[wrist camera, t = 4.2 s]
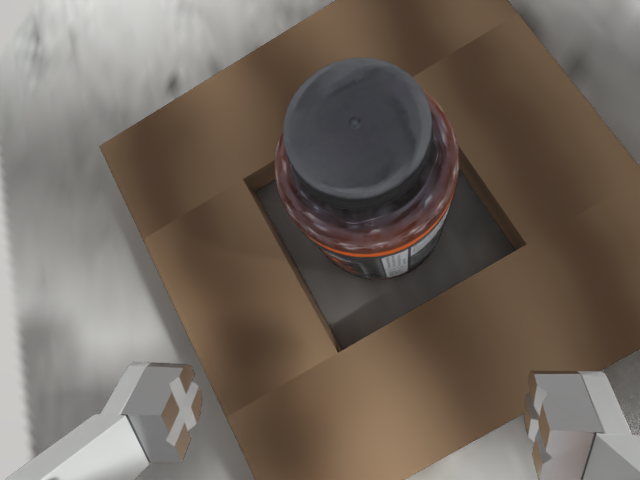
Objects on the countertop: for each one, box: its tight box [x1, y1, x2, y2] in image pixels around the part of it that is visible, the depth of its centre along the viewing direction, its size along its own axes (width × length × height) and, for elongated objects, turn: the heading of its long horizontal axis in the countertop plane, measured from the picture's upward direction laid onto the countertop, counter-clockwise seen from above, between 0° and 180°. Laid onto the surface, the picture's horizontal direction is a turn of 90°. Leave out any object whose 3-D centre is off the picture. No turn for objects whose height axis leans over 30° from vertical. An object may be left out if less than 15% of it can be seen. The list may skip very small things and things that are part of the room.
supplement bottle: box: [275, 57, 459, 280], centre depth 19 cm, size 6×6×11 cm
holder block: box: [99, 0, 640, 480], centre depth 23 cm, size 20×20×2 cm
